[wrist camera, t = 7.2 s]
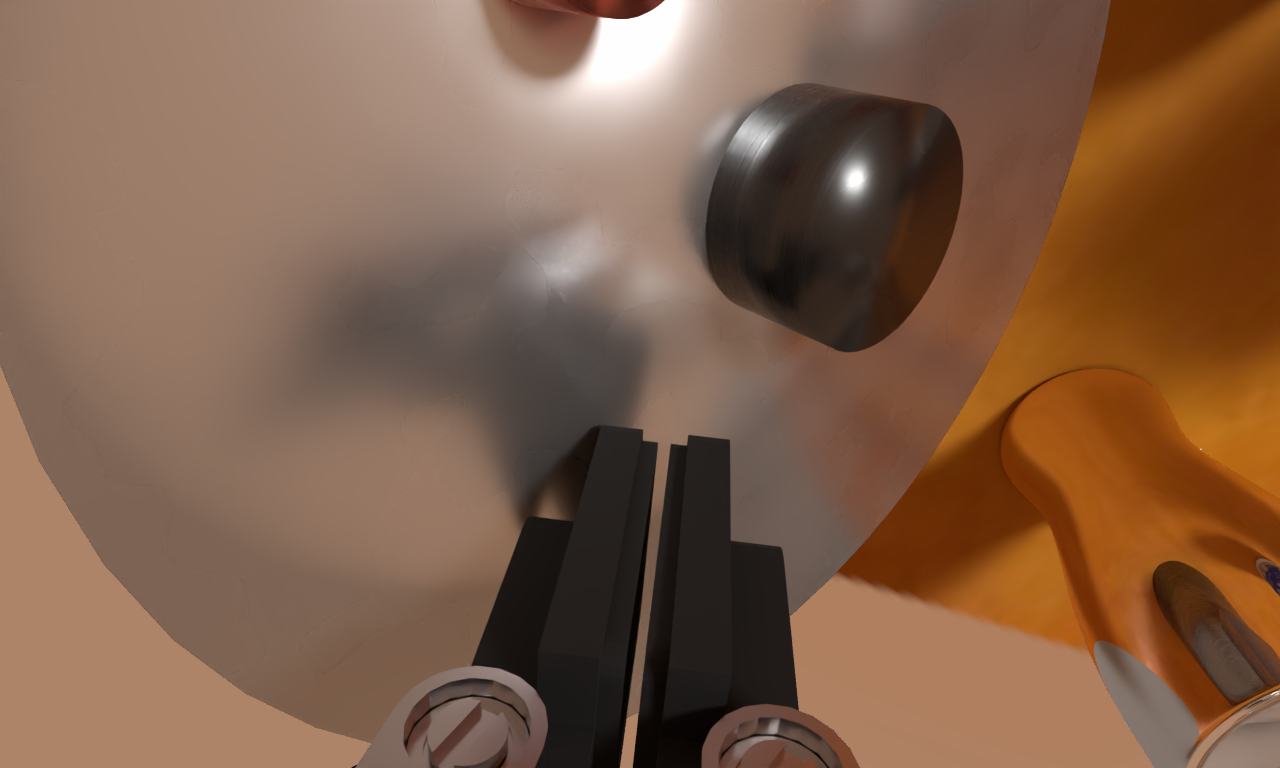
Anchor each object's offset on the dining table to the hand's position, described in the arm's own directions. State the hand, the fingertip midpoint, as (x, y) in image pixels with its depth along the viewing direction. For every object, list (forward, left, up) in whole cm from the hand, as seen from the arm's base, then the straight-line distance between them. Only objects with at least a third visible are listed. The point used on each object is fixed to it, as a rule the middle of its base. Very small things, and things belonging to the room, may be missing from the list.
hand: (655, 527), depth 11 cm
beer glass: (-15, +8, -20) cm, 27 cm away
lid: (0, -4, -4) cm, 6 cm away
